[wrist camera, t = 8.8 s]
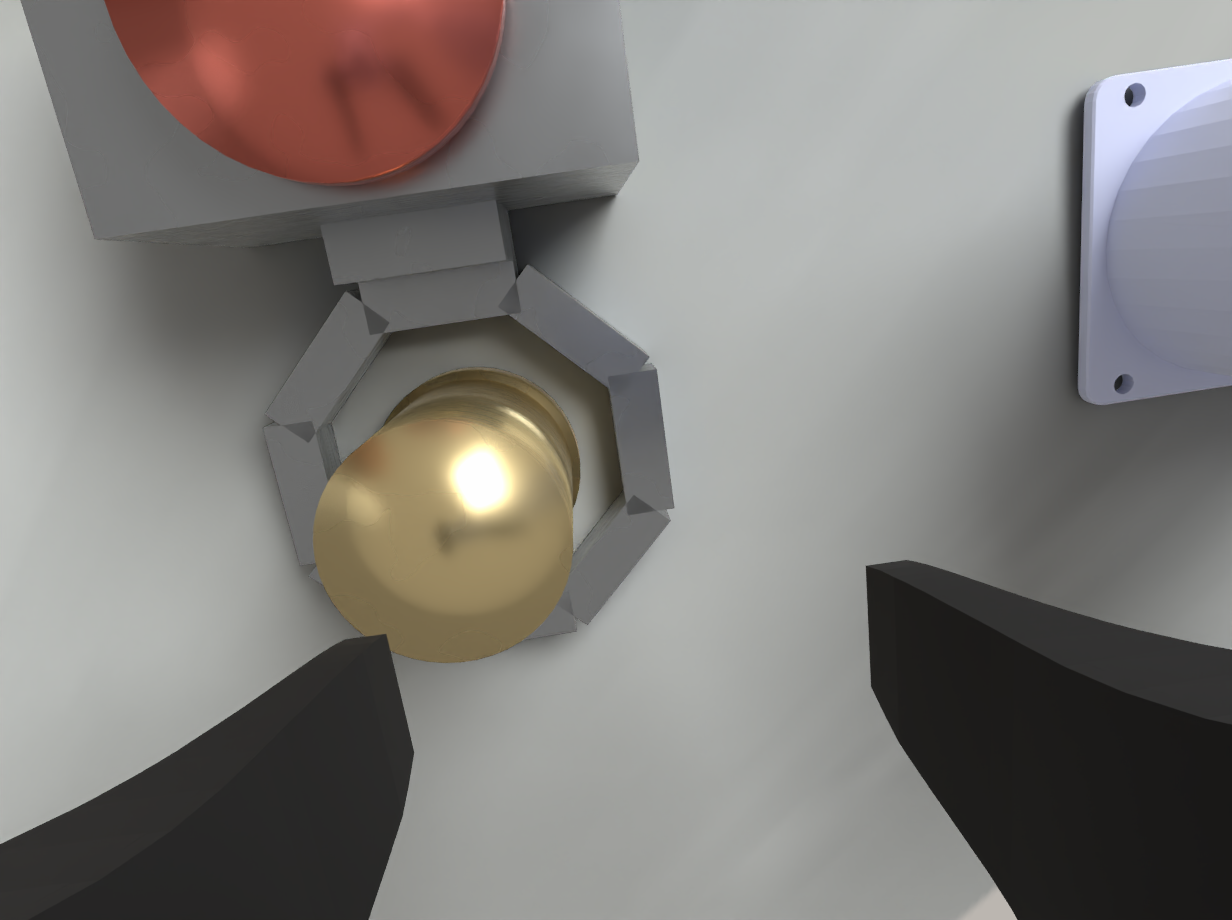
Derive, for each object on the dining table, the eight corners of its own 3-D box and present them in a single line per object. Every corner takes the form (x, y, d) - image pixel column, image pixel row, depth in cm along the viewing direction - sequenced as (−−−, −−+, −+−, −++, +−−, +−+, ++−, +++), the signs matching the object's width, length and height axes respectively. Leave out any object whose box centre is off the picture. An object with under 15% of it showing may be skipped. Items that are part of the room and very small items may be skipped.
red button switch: (572, -252, 16) (573, -640, 9) (681, 594, 21) (733, 751, 14) (119, -192, 16) (-227, -544, 9) (342, 647, 21) (231, 832, 14)
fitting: (570, 359, 19) (570, 399, 13) (587, 547, 20) (594, 658, 15) (367, 375, 19) (277, 423, 13) (397, 564, 20) (328, 684, 14)
